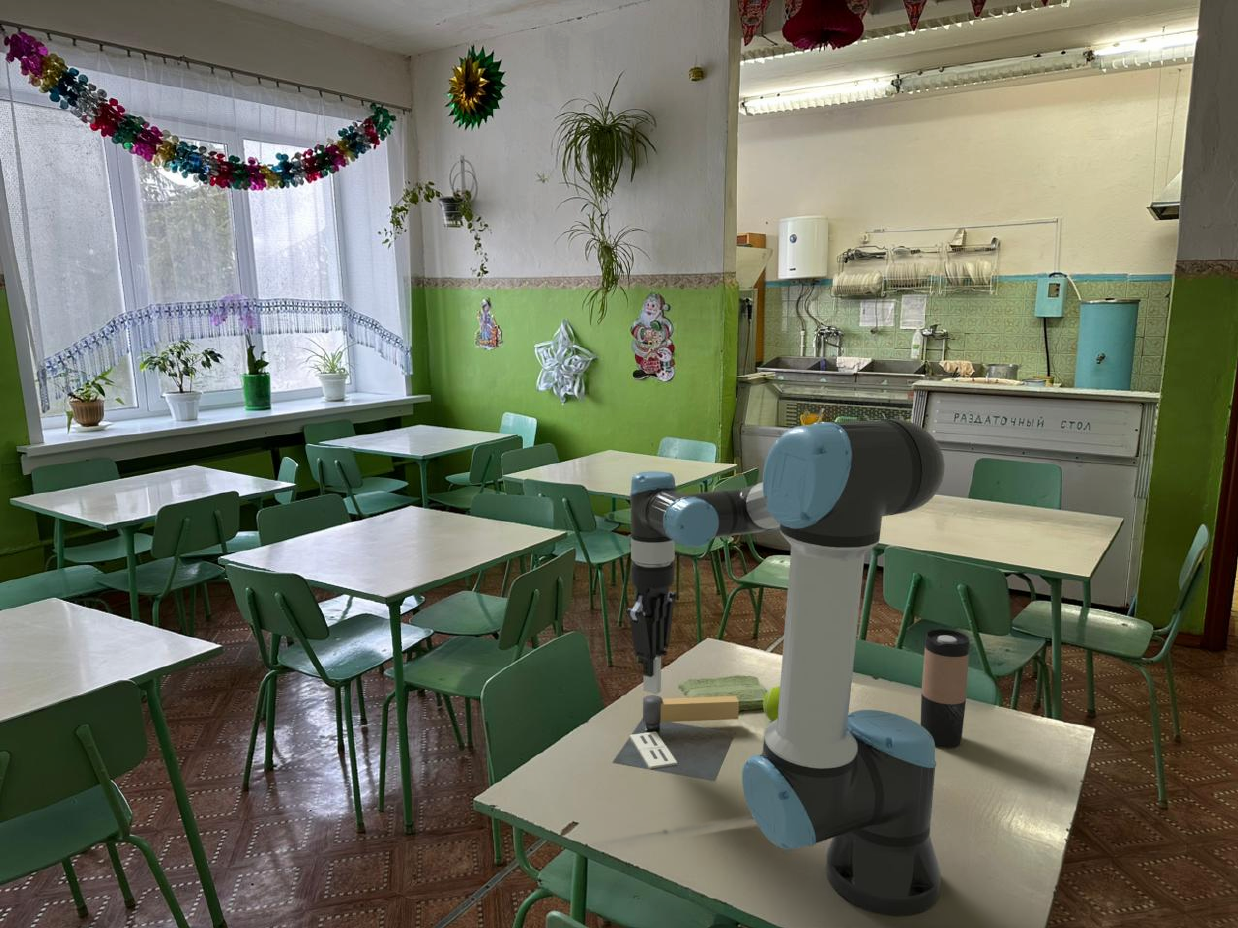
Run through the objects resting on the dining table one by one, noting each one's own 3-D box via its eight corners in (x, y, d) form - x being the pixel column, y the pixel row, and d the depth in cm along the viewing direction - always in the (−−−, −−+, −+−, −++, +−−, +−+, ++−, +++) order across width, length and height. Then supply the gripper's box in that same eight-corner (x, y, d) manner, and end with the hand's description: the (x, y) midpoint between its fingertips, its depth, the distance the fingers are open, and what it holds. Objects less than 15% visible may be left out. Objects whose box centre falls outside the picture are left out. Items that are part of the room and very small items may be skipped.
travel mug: (955, 729, 158) (963, 629, 155) (968, 750, 151) (976, 645, 148) (914, 727, 159) (920, 627, 156) (924, 748, 152) (931, 643, 148)
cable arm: (644, 724, 154) (644, 703, 153) (641, 715, 158) (642, 695, 157) (739, 720, 156) (739, 700, 155) (734, 711, 159) (735, 692, 159)
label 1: (629, 736, 153) (629, 734, 153) (655, 733, 154) (655, 730, 154) (639, 752, 147) (639, 750, 147) (666, 748, 149) (666, 746, 149)
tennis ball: (801, 717, 164) (803, 683, 162) (795, 733, 157) (797, 698, 156) (766, 711, 166) (767, 678, 165) (759, 726, 160) (760, 692, 158)
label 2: (639, 751, 148) (639, 748, 148) (665, 747, 149) (665, 745, 149) (649, 768, 142) (649, 766, 142) (677, 764, 144) (677, 761, 144)
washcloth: (778, 711, 167) (779, 696, 167) (693, 719, 164) (693, 704, 163) (754, 683, 180) (755, 669, 179) (675, 691, 176) (675, 676, 176)
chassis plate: (714, 787, 139) (714, 772, 138) (612, 768, 144) (612, 754, 144) (735, 738, 155) (735, 724, 155) (642, 723, 161) (643, 710, 160)
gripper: (654, 550, 151) (653, 673, 155) (613, 566, 140) (613, 699, 144) (690, 556, 147) (688, 683, 151) (650, 574, 136) (650, 710, 140)
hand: (652, 690), depth 147 cm, fingers closed
